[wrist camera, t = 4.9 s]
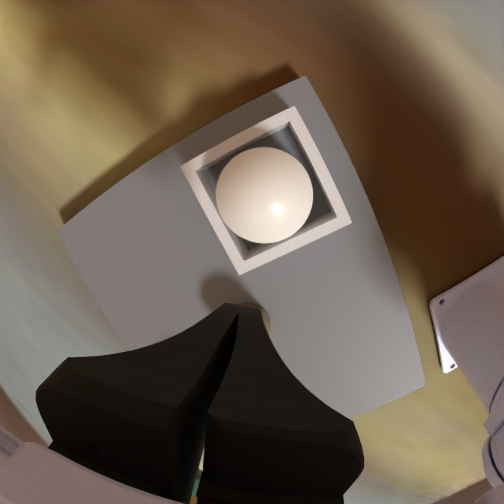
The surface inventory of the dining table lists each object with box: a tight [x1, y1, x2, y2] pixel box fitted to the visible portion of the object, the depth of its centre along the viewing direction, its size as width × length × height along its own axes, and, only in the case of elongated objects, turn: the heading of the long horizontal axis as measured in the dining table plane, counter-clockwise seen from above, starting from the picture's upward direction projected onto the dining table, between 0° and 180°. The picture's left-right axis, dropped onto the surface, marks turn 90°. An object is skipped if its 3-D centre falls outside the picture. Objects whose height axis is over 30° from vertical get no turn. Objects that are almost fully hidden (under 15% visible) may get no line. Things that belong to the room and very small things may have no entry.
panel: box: [57, 76, 426, 418], centre depth 19 cm, size 20×24×4 cm
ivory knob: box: [216, 147, 313, 243], centre depth 15 cm, size 4×4×4 cm
